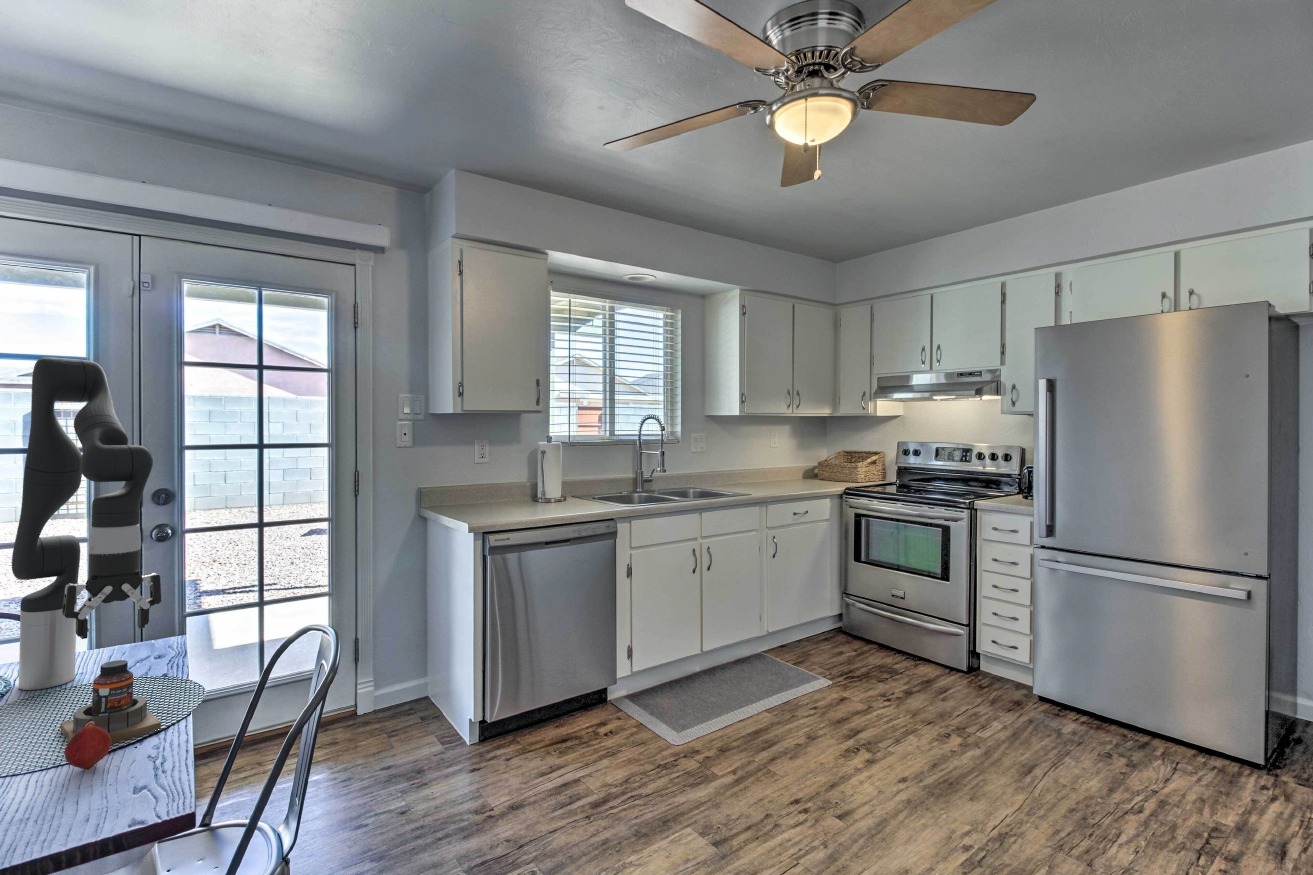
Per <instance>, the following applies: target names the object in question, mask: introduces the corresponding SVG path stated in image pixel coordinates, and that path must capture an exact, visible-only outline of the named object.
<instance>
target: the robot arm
mask: <svg viewBox="0 0 1313 875" xmlns="http://www.w3.org/2000/svg"><path fill="white" fill-rule="evenodd" d="M31 377H32V378H31V401H30V402H31V406H30V408H31V409H30V412H31V413H30V429H29V437H28V443H27V449H26V456H25V462H24V471H23V480H22V482H23V483H22V496H21V508H20V515H19V521H18V525H17V530H16V535H15V540H14V545H13V550H12V555H11V556H12V557H11V571H12V574H13V577H15V579H16V580H20V581H25V580H26V581H28V580H30V581H31V580H38V579H47V578H54V577H55V580H54V581H52V582H51V583H50V584H48V585H47V586H45V587H43V588H40V589H39V590H36V591H33V592H31V593H29V594H27V595H24V596H23V597H22V599H21V600H20V615H19V616H20V619H19V620H20V622H19V625H20V628H19V658H18V659H19V661H18V664H19V666H18V667H19V668H18V689H19V690H24V691H32V690H35V691H36V690H43V689H48V688H54V687H58V686H60V685H64V684H67V683H69V682H71V681H74V679H75V678H76V660H77V659H76V655H77V654H76V653H77V648H76V647H77V637H78V638H79V637H80V639H81V640H84V639H88V634H89V633H88V632H89V630H88V629H89V628H88V627H89V618H88V617H87V616H89V615H90V614H91V612H92V611H93V610H95V609H96V608H97V607H98V606H99V605H100V604H101V603H102V604H111V603H113V602H123V601H126V600H127V599H131V600H132V601H133V602H135V603H136V605H137V606H139V608H137V622H136V623H137V625H136V626H137V628H138V629H144V628H146V625H148V624H149V622H150V608H151V607H153V606H155V605H159V604H161V603H162V588H161V585H162V584H161V583H162V582H161V575H159V574H158V573H156V572H150V574H147V575H141V547H142V540H141V539H142V536H141V528H140V514H141V513H140V512H141V510H140V509H141V501H142V497H143V494H144V490H145V488H146V485H147V482H148V480H149V477H150V475H151V472H152V469H153V465H154V459H153V458H154V457H153V456H152V455H153V454H152V453H151V452H150V450H149V449H148V448H146V446H142V445H135V444H133V445H131V444H130V445H129V444H128V443H129V437H128V435H127V433H126V430H125V429H124V427H123V426H122V423H121V422H120V420H119V418H118V416H117V414H116V411H115V407H114V402H113V399H112V394H111V390H110V387H109V382H108V378H107V376H106V373H105V371H104V369H103V367H102V366H101V365H100V364H99V363H97V362H96V361H92V360H88V359H87V360H86V359H78V358H77V359H76V358H67V357H65V358H63V357H50V356H43V357H40V358H38V359H37V360H36V362H35V364H34V366H33V371H32V376H31ZM56 402H69V403H71V402H72V403H86V404H85V405H84V406H82V408H81V409H80V410H79V411H78V412H77V414H76V415H75V417H74V420H73V428H74V432H75V434H76V437H77V438H78V441H79V442H80V444H81V448H82V450H80V448H79V447H78V446H77V444H76V443H75V442H74V441H73V439H72V438H71V437H70V436H69V435H68V434H67V432H66V431H65V429H64V428H63V426H62V425H61V423H60V421H59V419H58V417H57V415H56V410H55V404H56ZM81 451H82V452H81ZM82 476H83V477H84V478H86V479H87V480H88V481H91V482H93V483H94V482H95V483H117V482H125V483H124V484H123V486H121V488H120V489H119V490H117V491H114V492H111V493H106V494H102V495H98V496H96V497H95V498H94V499H93V500H92V504H91V525H90V526H91V528H90V532H89V543H88V572H87V574H88V575H87V576H88V578H87V580H86V582H85V583H79V571H80V562H81V561H80V560H81V544H80V541H79V538H78V537H76V535H75V536H74V535H73V534H72V535H71V534H66V535H65V534H64V535H53V536H52V535H51V536H41V533H42V532H43V530H44V527H45V526H46V524H47V523H48V522H49V520H50V519H51V518H52V517H53V515H55V514H56V513H57V512H58V510H60V509H61V508H62V507H63V506H64V505H65V504H66V503H67V502H68V501H69V500H70V499H71V498H72V497H73V496H74V495H75V494H76V492H77V491H78V490H79V488H80V486H81V483H82ZM40 536H41V537H40ZM143 582H145V584H146V586H149V598H148V599H145V598H144V597H143V596H142V595H141V594H139V592H138V591H137V589H139V587H140V586H141V585H142V583H143ZM82 591H86V592H88V594H90V595H89V596H88V597H87V598H86V599H85V601H84V602H83V604H82V605H81V606H80V607H79V608H78V607H77V606H78V604H77V602H78V597H79V596H80V595H81V593H82ZM77 608H78V609H77Z"/></svg>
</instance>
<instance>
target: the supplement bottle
mask: <svg viewBox="0 0 1313 875" xmlns="http://www.w3.org/2000/svg"><path fill="white" fill-rule="evenodd" d="M128 668H129V666H128V660H125V659H120V660H119V659H118V660H111V661H107V662H104V663H102V664H101V665H100V669H99V672H100V673H99V674H98V675H97V676H96V677H94V679H93V683H92V698H91V700H92V701H91V703H92V716H102V715H110V714H114V713H118V712H122V711H125V710H127V709H129V708H132V706H133V705H132V704H133V696H134V673H133V672H132V671H131V670H128Z"/></svg>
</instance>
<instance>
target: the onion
mask: <svg viewBox="0 0 1313 875" xmlns="http://www.w3.org/2000/svg"><path fill="white" fill-rule="evenodd" d="M111 747H112V744H111V737H110V735H109V733H108V732H107V731H105V730H104V729H102V728H100V727H96V726H95V722H94V721H91V722H89V723H88V724H87V725H86V726H85V727H84V728H82V729H81V730H80V731H78V732H77V733H76V734H75V735H74V736H73V737H72V738H71V740H70V741H69V742H68V743H67V745H66V747H65V748H64V749H65V750H64V759H65V761H67V763H68V764H69V765H70V766H72V767H74V768H78V769H83V770H91V769H93V768H94V767H95V765H97V764H98V763H99V762H100V761H101V760H103V759H104V758H105V757H106V756H107V755H108V753H109V752H110V749H111Z"/></svg>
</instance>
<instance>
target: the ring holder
mask: <svg viewBox="0 0 1313 875" xmlns="http://www.w3.org/2000/svg"><path fill="white" fill-rule="evenodd" d="M132 705H133V706H132V708H129V709H127V710H125V711H122V712H118V713H114V714H110V715H102V716H92V702H91V703H89V704H86V705H84V706H82V707H80V708H78V709H77V710H76V711H75V712H74V713H73V715H72V718H73V719H69V720H67V721H62V722H60V727H59V729H60V730H61V731H60V732H61V733H63V734H64V735H63V734H62V735H63V736H64V738H65V737H66V738H67V739H66V738H65V739H66V741H67V742H68V741H70V740H71V738H72V737H73V736H74V735H75V734H76V733H77V732H78V731H80V730H81V729H82V728H84V727H85V726H86V725H87V724H88V723H89V722H91V721H94V722H95V726H96V727H100V728H102V729H104V730H105V731H107V732H108V733H109V735H110V737H111V745H113V744H116V743H117V744H118V743H121V742H124V741H127V740H131V739H133V738H134V737H135V738H138V737H142V736H144V735H143V734H145V735H147V734H146V733H148V734H151V733H150V732H152V731H155V730H158V729H161V728H162V726H161V725H162V723H161V721H160V720H159V719H158V718H157V717H156V716H155V715H154V714H152V713H151V712H150V711H149V710H148V699H147V698H145V697H144V696H142V695H141V696H140V695H133V704H132ZM155 732H156V731H155ZM152 733H153V732H152Z"/></svg>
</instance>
